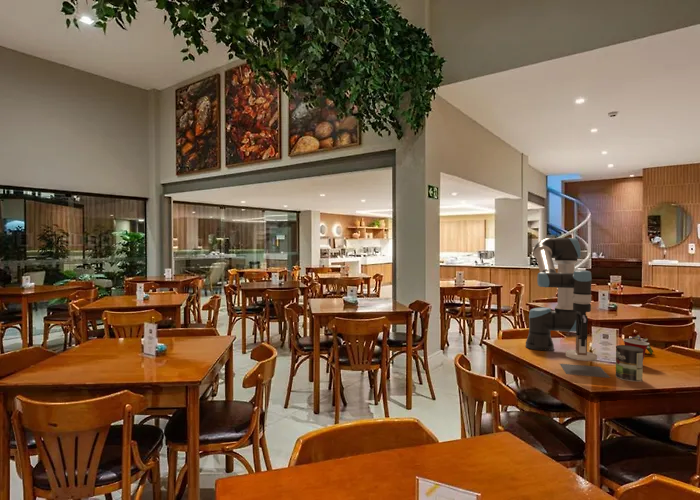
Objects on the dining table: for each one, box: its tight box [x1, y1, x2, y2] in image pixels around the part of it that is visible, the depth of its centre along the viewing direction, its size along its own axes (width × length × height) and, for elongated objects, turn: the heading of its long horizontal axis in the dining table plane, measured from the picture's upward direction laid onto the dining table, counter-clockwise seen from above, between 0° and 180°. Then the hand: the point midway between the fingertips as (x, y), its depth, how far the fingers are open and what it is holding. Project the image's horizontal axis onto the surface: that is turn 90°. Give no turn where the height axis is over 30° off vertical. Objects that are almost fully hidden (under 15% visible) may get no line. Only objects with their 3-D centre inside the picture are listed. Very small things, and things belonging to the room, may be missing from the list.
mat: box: [559, 363, 611, 379], centre depth 197 cm, size 18×18×1 cm
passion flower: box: [627, 334, 654, 355], centre depth 233 cm, size 11×11×12 cm
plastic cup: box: [622, 338, 650, 360], centre depth 209 cm, size 11×11×12 cm
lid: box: [565, 334, 598, 362], centre depth 198 cm, size 13×13×10 cm
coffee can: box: [615, 344, 644, 382], centre depth 186 cm, size 10×10×14 cm
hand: (581, 351), depth 198 cm, fingers closed on lid, 4 cm apart
